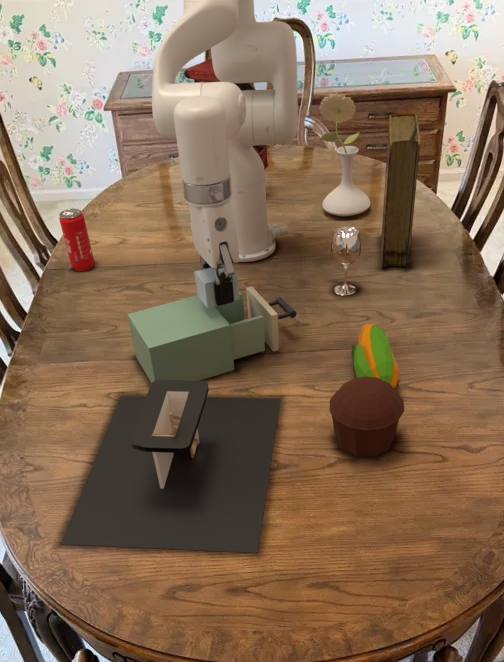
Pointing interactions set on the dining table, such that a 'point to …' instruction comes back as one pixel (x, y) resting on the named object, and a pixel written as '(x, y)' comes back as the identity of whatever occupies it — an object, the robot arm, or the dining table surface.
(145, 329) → the cabinet
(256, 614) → the dining table surface
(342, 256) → the wineglass
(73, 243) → the beverage can
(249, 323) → the drawer
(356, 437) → the muffin
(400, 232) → the book
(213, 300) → the carton
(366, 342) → the corn
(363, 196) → the flower in vase
